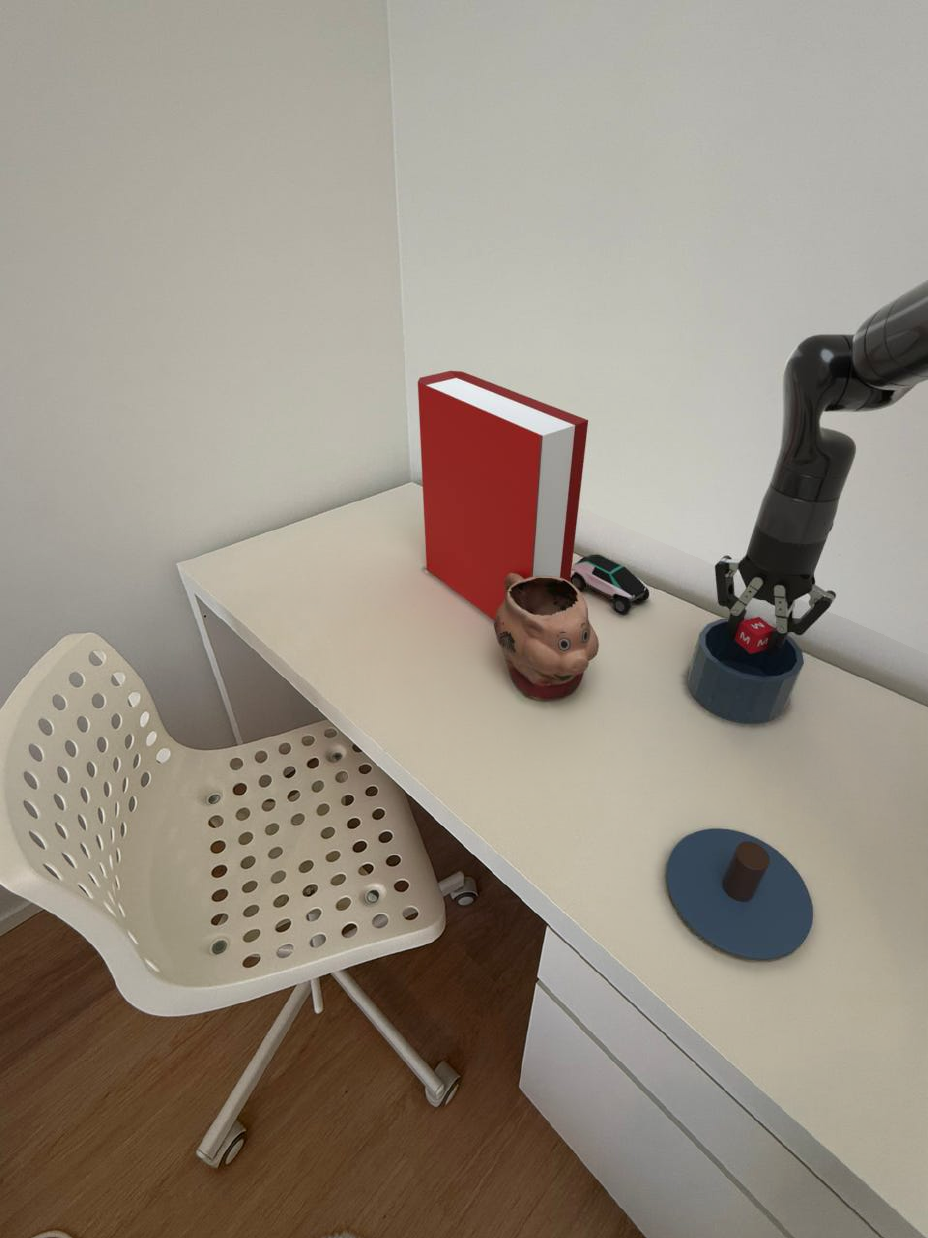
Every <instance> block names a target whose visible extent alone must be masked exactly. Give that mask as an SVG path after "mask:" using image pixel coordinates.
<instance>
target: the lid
mask: <svg viewBox="0 0 928 1238" xmlns="http://www.w3.org/2000/svg"><path fill="white" fill-rule="evenodd" d="M665 883H666V888H667V891H668V895H669V898H670V900H671V902H672V905H673V907H674V908H675V910H676V912H677V913H678V915H679V916H680V918H681V920H683V922H684V923H685V924H686V925H687V926H688V928H689V929H690V930H691V931H692V932H694V933H695V935H697V936H698V937H699V938H700V939H702V940H703V941H704V942H706V943H707V944H708V945H710V946H711V947H714V948H715V949H717V950H718V951H720V952H723V953H725V954H727V955H730V956H733V957H735V958H737V959H743V960H747V961H755V962H765V961H766V962H767V961H775V960H779V959H782V958H784V957H788V956H789V955H791V954H793V953H794V952H796V951H797V950H798V949H799V948H800V947H801V946H802V945H803V944H804V943H805V941H806V939H807V938H808V936H809V934H810V932H811V929H812V926H813V921H814V906H813V901H812V897H811V894H810V892H809V888H808V887H807V884H806V882H805V881H804V879H803V877H802V875H800V873H799V872H798V870H797V869H796V867H795V866H794V865H793V864H792V863H791V862H790V860H788V859H787V857H785V856H784V855H783V854H782V853H781V852H780V851H778V850H777V849H776V848H774V847H773V846H771V844H769V843H767V842H766V841H763V840H761V839H759V838H757V837H756V836H754V835H750V834H748V833H746V832H743V831H740V830H735V829H731V828H730V829H729V828H719V827H717V828H713V827H712V828H705V829H700V830H697V831H694V832H692V833H690V834H688V835H686V836H684V837H683V838H682V839H680V840H679V841H678V842H677V843H676V845H675V846H674V847H673V848H672V850H671V853H670V854H669V858H668V860H667V863H666V870H665Z"/></svg>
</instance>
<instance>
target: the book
mask: <svg viewBox="0 0 928 1238" xmlns="http://www.w3.org/2000/svg"><path fill="white" fill-rule="evenodd" d="M417 396H418V417H419V418H418V419H419V420H418V421H419V437H420V439H419V440H420V458H421V460H420V461H421V462H420V463H421V478H422V479H421V480H422V502H423V504H422V505H423V521H424V541H425V542H424V544H425V560H426V561H425V563H426V570H427V571H428V572H429V573H430V574H432V575H433V576H434V577H436V578H437V579H439V580H440V581H441V582H443V584H445V585H446V586H448V587H450V588H451V589H452V590H453V591H454V592H456V593H457V594H458V595H460V596H461V597H462V598H464V599H465V600H466V601H468V602H469V603H471V605H473V606H474V607H476V608H477V609H479V611H481V612H482V613H484V614H485V615H486V616H488V617H489V618H490V619H491V620H493V621H494V619H495V615H496V612H497V610H498V608H499V607H500V606H501V604H502V603H503V602H504V600H505V583H504V581H505V580H506V578H507V576H508V575H509V574H510V573H515V574H518V575H520V576H522V577H523V578H524V579H526V578H529V577H534V576H555V577H560V578H563V579H565V580H567V581H569V582H570V579H571V576H572V567H573V560H574V552H575V551H574V550H575V542H576V533H577V523H578V516H579V507H580V500H581V499H580V498H581V497H580V496H581V490H582V480H583V470H584V463H585V462H584V461H585V454H586V445H587V435H588V427H589V419H586V418H584V417H582V416H579V415H576V414H573V413H571V412H568V411H565V410H563V409H561V408H558V407H555V406H554V405H550V404H547V403H545V402H542V401H539V400H537V399H535V398H532V397H530V396H526V395H524V394H522V393H519V392H518V391H517V392H516V391H513V390H511V389H509V388H506V387H503V386H500V385H498V384H496V383H493V382H491V381H488V380H485V379H483V378H480V377H478V376H475V375H473V374H470V373H467V372H465V371H461V370H448V371H443V372H439V373H435V374H430V375H426V376H421V377H419V378H418V380H417ZM570 583H571V582H570Z"/></svg>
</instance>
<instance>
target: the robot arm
mask: <svg viewBox="0 0 928 1238" xmlns="http://www.w3.org/2000/svg"><path fill="white" fill-rule="evenodd" d="M925 381H928V279H927V280H925V281H922V282H921V283H920V284H918V285H916V286H915V287H913V288H911V289H910V290H908V291H906V292H905V293H903V294H902V295H900V296H899V297H897V298H895V299H894V300H892V301H890V302H889V303H887V304H886V305H884V306H882V307H880V308H879V309H878V310H876V311H875V312H874V313H872V314H870V316H868V317H867V318H866V319H865V320H864V322H862V323H861V325H860V326H859V327H858V329H857V330H856V332H855V333H854V334H852V333H848V334H847V333H843V334H841V333H840V334H837V333H825V334H824V333H822V334H821V333H820V334H814V335H811V336H808V337H806V338H805V339H803V340H802V341H800V342H799V343H798V344H797V345H796V346H795V348H793V350H792V351H791V353H790V355H789V356H788V358H787V360H786V362H785V365H784V369H783V374H782V428H781V439H780V440H781V442H780V449H779V451H778V455H777V459H776V462H775V465H774V468H773V472H772V475H771V479H770V482H769V485H768V487H767V489H766V491H765V493H764V496H763V498H762V500H761V503H760V506H759V510H758V513H757V515H756V516H757V517H756V520H755V523H754V527H753V530H752V533H751V537H750V539H749V542H748V546H747V550H746V554H745V555H744V556H743V557H742V559H732V557H731V556H730V555H727V554H726V555H723V557H721V558H720V560H718V561H717V563H716V564H715V565H714V574H715V575H714V576H715V584H716V595H717V604H718V605H719V606H720V607H726V608H727V609H728V610H729V613H730V614H729V617H728V618H729V620H728V624H727V627H726V632H727V633H729V638H731V639H733V640H734V639H735V637H736V634H737V630H738V627H739V624H740V622H741V621H744V619H746V618H745V617H746V614H747V611H748V610H747V609H746V608H747V606H748V605H749V603H750V602H751V601H752V600H753V599H755V600H758V601H765V602H766V603H768V604H770V605H771V606H773V607H774V616H775V619H776V621H775V622H776V626H775V627H776V628H775V629H774V630H773V633H772V636H771V639H770V641H769V644H768V647H767V650H766V653H768V654H770V655H772V653H773V652H778V651H779V650H780V649H781V648H782V646H783V645H784V642H785V639H786V637H787V635H788V634H790V633H793V634H794V635H796V636H803V635H804V634H805V633H806V632H807V631H808V630H809V629H810V628H811V627H812V626H813V625H814V624H815V623H816V622H817V621H818V620H819V619H820V618H821V617H822V616H823V615H824V613H825V612H826V611H827V610H829V608H830V607H831V606H832V604H833V602H834V601H835V599H836V598H837V593H836V592H835V591H834V590H824V589H823V588H821V587H820V586H818V585H817V584H816V579H815V572H816V568H817V566H818V564H819V561H820V559H821V555H822V553H823V550H824V547H825V545H826V542H827V540H828V537H829V534H830V533H831V531H832V529H833V527H834V522H835V519H836V517H837V511H838V507H839V502H840V498H841V495H842V492H843V490H844V487H845V485H846V481H847V479H848V476H849V474H850V471H851V469H852V466H853V464H854V460H855V457H856V453H857V446H856V445H857V444H856V442H855V440H853V438H852V437H850V435H847V434H846V433H844V432H841V431H838V430H835V429H831V428H827V427H823V426H821V418H822V415H823V413H865V412H866V413H867V412H873V411H874V412H875V411H878V410H882V409H886V408H889V407H891V406H893V405H895V404H896V403H898V402H899V401H900V400H901V399H902V398H903V397H905V396H906V395H907V394H908V393H910V391H912V390H913V389H914V388H915V387H916V386H917V385H918V384H920V383H924V382H925ZM737 572H739V574H740V576H741V579H742V582H743V583H744V586H745V590H743V592H742V594H740V596H736V593H735V581H734V576H735V575H736V574H737ZM805 595H809V597H810V598H809V600H808V605H809V606H810V608H809V609H808V610H807V611H806V612H805V613H803V615H802V616H801V617H798V618H797V617H794V611H795V606H796V600H798V599H800V598H802V597H804V596H805Z"/></svg>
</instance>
